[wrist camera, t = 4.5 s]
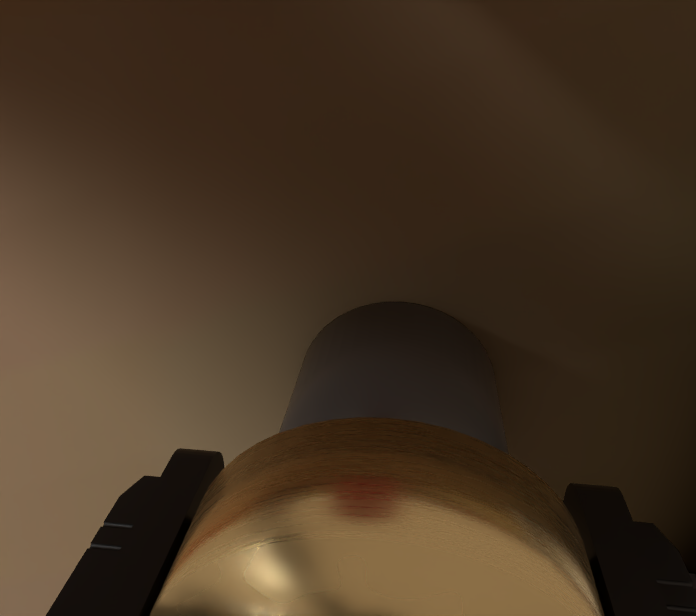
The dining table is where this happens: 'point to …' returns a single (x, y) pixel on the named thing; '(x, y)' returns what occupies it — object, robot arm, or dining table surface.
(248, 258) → the dining table surface
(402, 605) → the disc
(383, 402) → the cylinder
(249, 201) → the dining table surface
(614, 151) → the dining table surface
